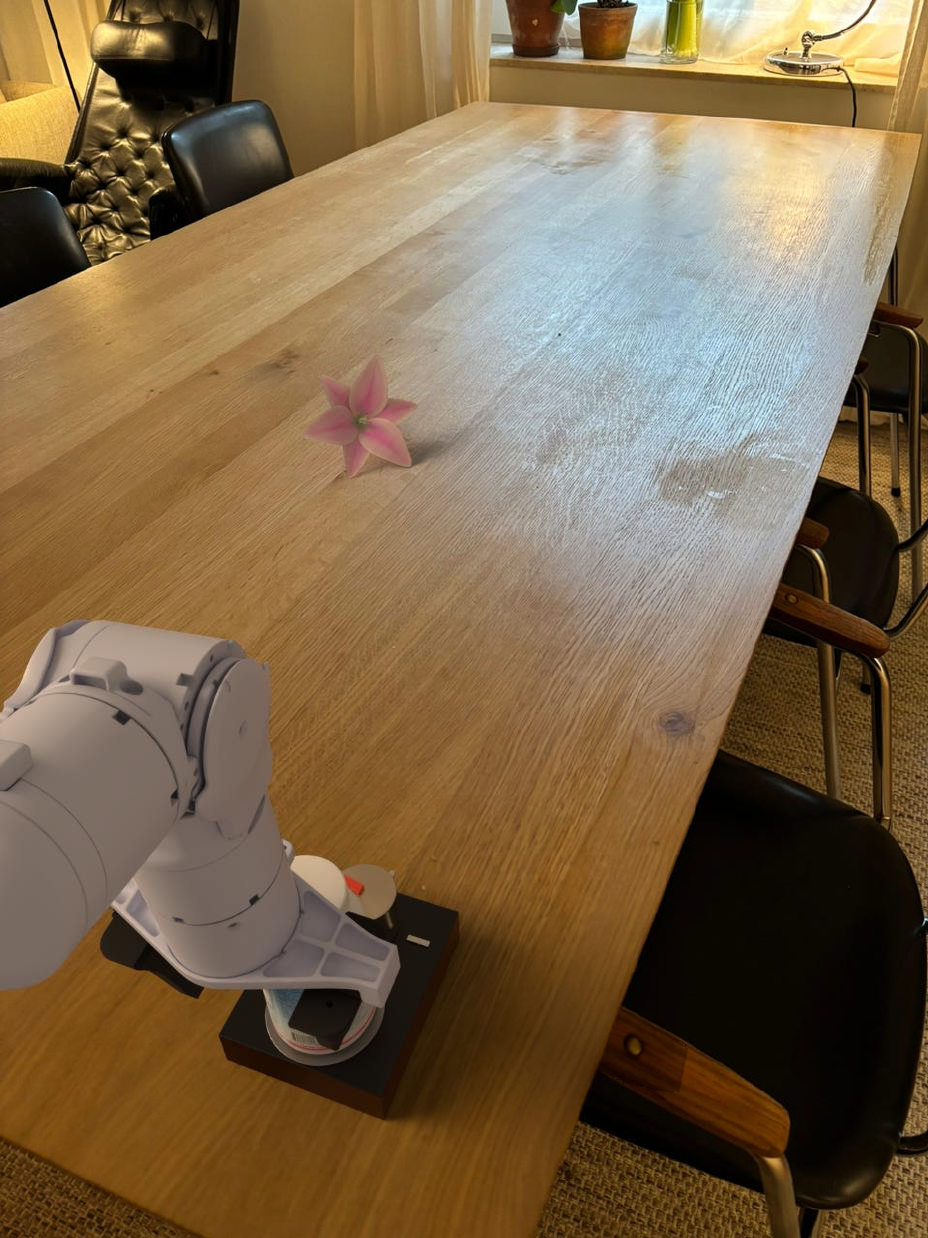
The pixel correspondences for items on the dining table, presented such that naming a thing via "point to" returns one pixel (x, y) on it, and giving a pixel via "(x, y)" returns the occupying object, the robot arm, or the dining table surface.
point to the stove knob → (375, 894)
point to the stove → (383, 1062)
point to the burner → (330, 1058)
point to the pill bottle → (285, 1000)
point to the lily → (362, 418)
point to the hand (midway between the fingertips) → (269, 1003)
